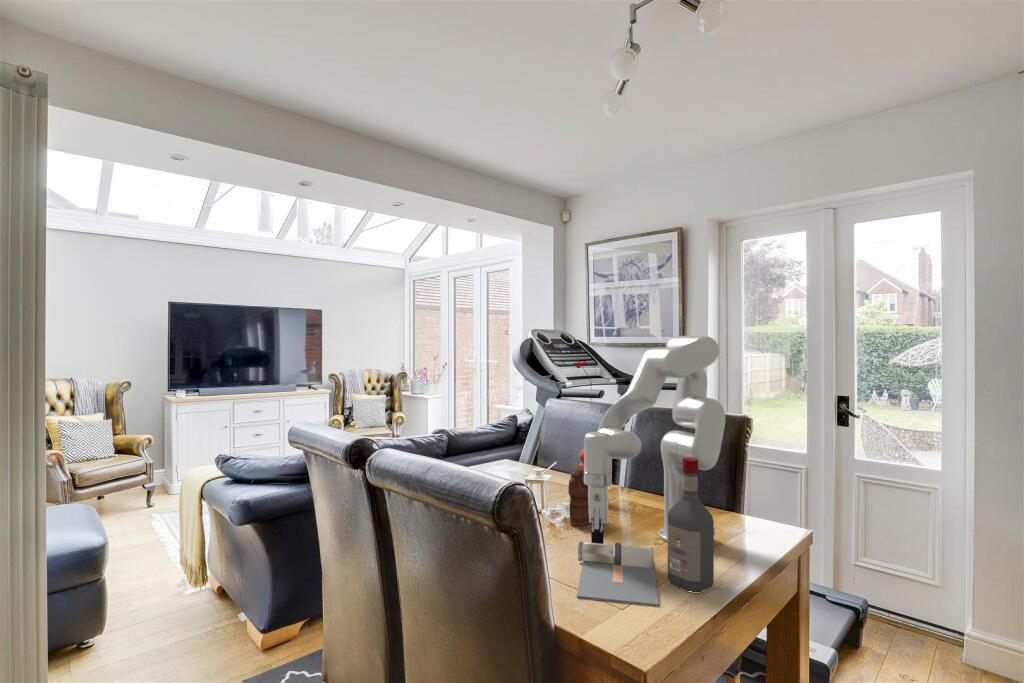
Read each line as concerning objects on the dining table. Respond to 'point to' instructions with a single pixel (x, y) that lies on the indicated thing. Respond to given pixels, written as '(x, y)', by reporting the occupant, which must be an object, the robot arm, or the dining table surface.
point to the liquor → (690, 536)
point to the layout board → (621, 577)
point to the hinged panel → (595, 552)
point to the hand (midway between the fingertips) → (597, 545)
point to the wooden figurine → (578, 498)
